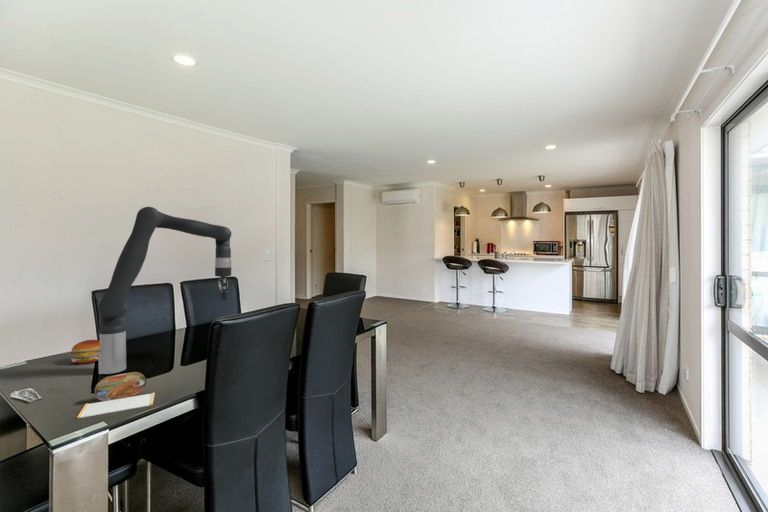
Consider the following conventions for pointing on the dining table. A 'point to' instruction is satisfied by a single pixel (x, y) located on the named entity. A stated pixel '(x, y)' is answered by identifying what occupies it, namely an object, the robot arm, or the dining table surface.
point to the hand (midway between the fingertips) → (223, 298)
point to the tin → (120, 386)
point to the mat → (116, 405)
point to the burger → (86, 351)
